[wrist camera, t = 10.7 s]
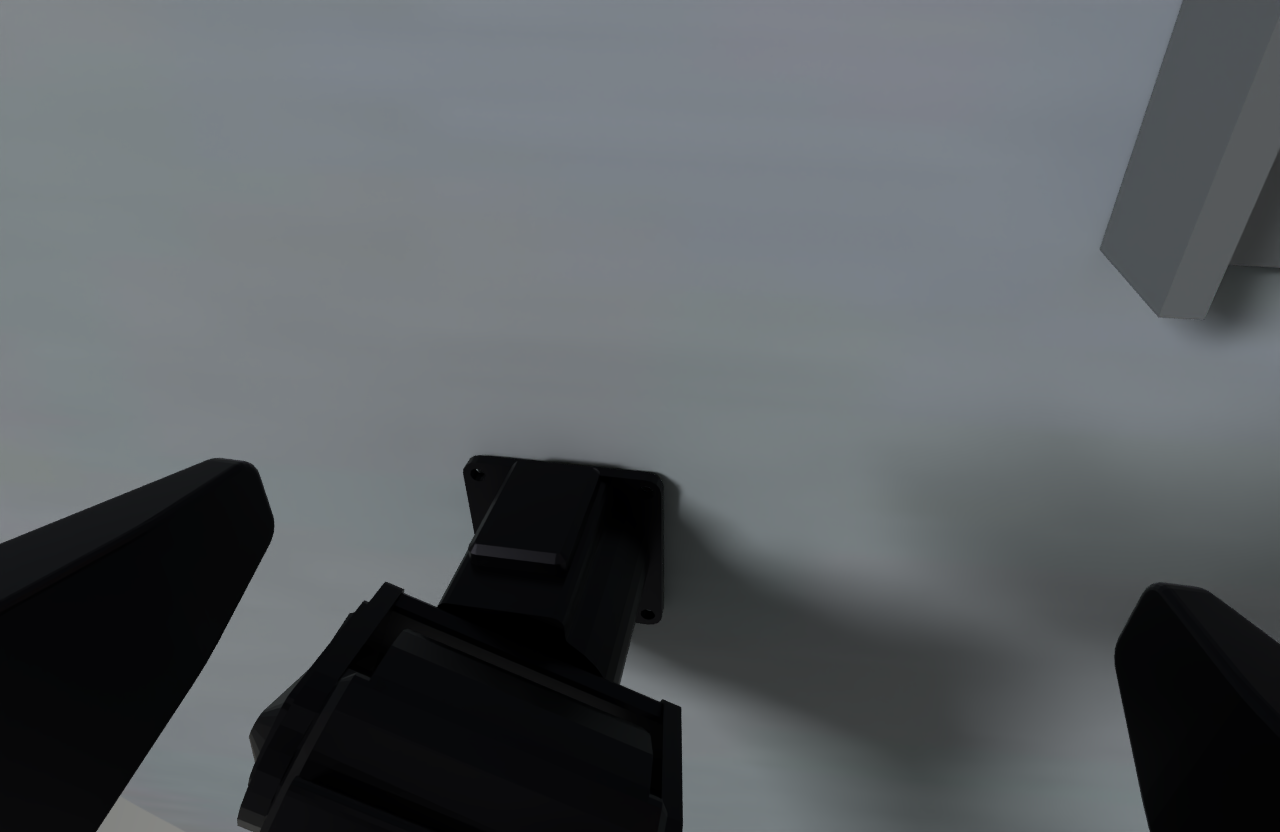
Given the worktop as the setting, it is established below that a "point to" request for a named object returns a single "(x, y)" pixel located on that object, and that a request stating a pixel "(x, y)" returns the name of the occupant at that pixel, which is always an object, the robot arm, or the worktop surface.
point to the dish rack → (1204, 160)
